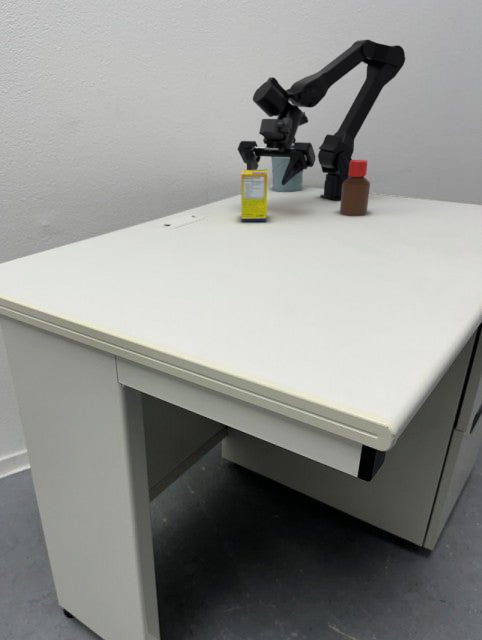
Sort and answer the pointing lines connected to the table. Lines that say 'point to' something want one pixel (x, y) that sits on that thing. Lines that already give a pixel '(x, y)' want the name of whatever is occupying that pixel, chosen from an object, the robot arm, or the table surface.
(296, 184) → the teal cup
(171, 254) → the table surface
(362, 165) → the cap
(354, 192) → the bottle
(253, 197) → the supplement box
